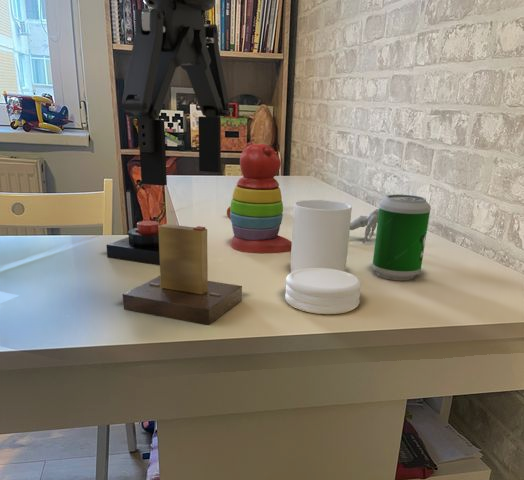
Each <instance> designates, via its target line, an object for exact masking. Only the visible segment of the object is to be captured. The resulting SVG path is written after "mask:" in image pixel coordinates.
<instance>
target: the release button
mask: <svg viewBox="0 0 524 480" xmlns="http://www.w3.org/2000/svg"><path fill="white" fill-rule="evenodd" d="M136 226H137V227H136V228H137V230H138V233H140V234H157V233H159V231H158V226H160V222H159V221H156V220H142V221H137V223H136Z"/></svg>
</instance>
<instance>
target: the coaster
mask: <svg viewBox="0 0 524 480" xmlns="http://www.w3.org/2000/svg"><path fill="white" fill-rule="evenodd" d="M285 283H286V286H285V295H284V299H285V301H286V303H288V305H289V306H291V307H292V308H294V309H296V310H300V311H301V312H307V313H310V314H317V315H338V314H339V315H340V314H344V313H349V312H351V311H353V310H354V309H355V310H356V308H358V306H359V304H360V301H361V300H360V297H361V288H362V282H361V279H360V278H359V277H357V276H356V275H355V274H353V273H350V272H348V271H345V272H344V271H340V270H335V269H327V268H307V269H300V270H296V271H293V272H291V271H290V273H289V274H288V275H287V276H286V277H285Z"/></svg>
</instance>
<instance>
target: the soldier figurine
mask: <svg viewBox="0 0 524 480" xmlns="http://www.w3.org/2000/svg"><path fill="white" fill-rule="evenodd" d="M378 215H379V208H376V209H375V210H373V211H372V212H370V213H369V214H368V215H360V216H358V217H357V218H355V219H354V220H353V221H350V231H355V230H357V229H359V228H365V231H364V237H363V239H362V240H361V244H365V243H366V242H367V241H368V237H369V239H371V238H372V237H373V236H374V234H375V230H376V229H377V223H378Z"/></svg>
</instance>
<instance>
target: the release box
mask: <svg viewBox="0 0 524 480" xmlns="http://www.w3.org/2000/svg"><path fill="white" fill-rule="evenodd" d="M105 246H106V258H108V259H115V260H120V261H127V262H133V263H134V262H135V263H142V264H148V265H153V266H160V254H159V233H157V234H140V233H138V230H137V227H134V228H131V229H129V230H128V237H125V238H121V239H119V240H116V241H113V242H110V243H107V244H106V245H105Z"/></svg>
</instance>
